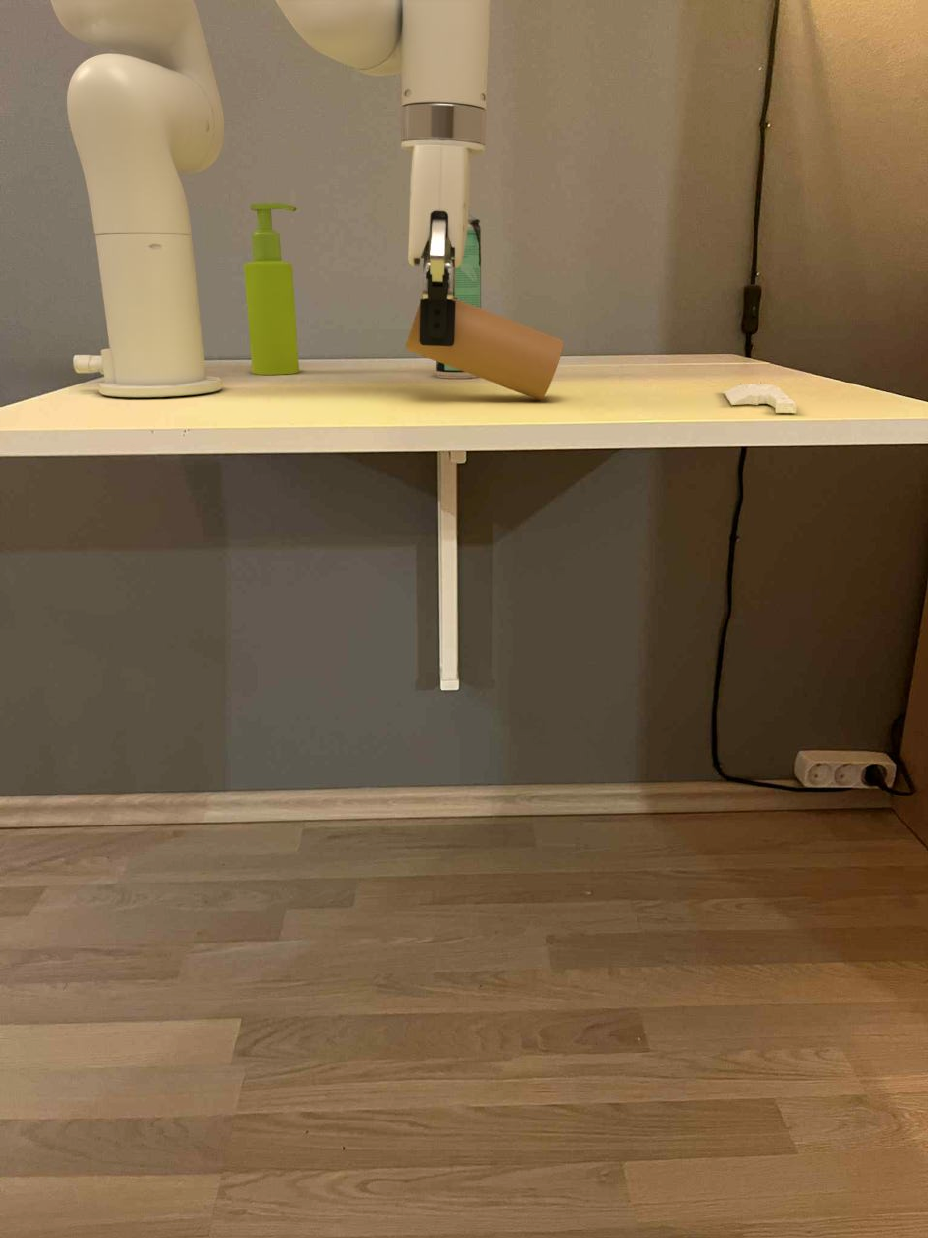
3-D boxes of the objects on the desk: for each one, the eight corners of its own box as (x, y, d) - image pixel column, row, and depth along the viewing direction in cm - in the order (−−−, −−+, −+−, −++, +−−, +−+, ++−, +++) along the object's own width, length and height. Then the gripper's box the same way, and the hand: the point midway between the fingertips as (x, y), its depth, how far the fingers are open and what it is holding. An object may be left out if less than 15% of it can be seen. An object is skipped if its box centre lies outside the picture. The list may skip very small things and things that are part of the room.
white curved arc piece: (734, 412, 83) (735, 399, 82) (723, 393, 97) (724, 382, 96) (795, 412, 82) (797, 399, 81) (775, 393, 96) (776, 382, 95)
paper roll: (402, 351, 88) (424, 287, 87) (406, 346, 94) (426, 286, 92) (543, 404, 90) (567, 342, 88) (538, 396, 96) (560, 338, 94)
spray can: (483, 374, 118) (482, 198, 111) (479, 378, 113) (478, 194, 106) (439, 374, 118) (436, 198, 111) (433, 378, 113) (430, 195, 106)
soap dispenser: (302, 374, 119) (291, 200, 112) (248, 374, 119) (233, 201, 113) (310, 370, 125) (300, 204, 118) (258, 370, 125) (244, 205, 118)
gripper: (407, 142, 93) (405, 334, 99) (393, 117, 77) (391, 348, 83) (484, 145, 93) (477, 337, 99) (486, 121, 77) (477, 351, 83)
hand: (438, 340), depth 91 cm, fingers closed on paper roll, 6 cm apart
